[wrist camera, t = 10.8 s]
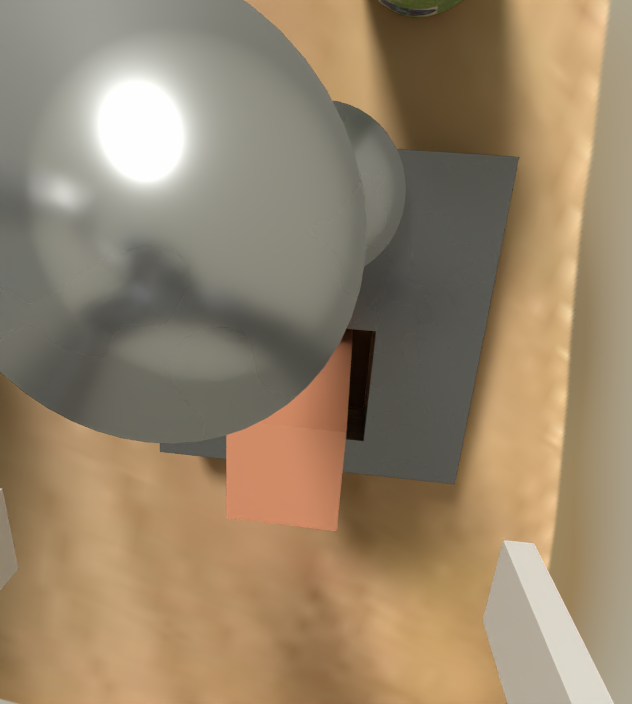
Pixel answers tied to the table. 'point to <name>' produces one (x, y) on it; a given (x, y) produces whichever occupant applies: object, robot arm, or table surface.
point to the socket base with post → (228, 236)
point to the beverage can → (419, 6)
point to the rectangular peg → (294, 454)
